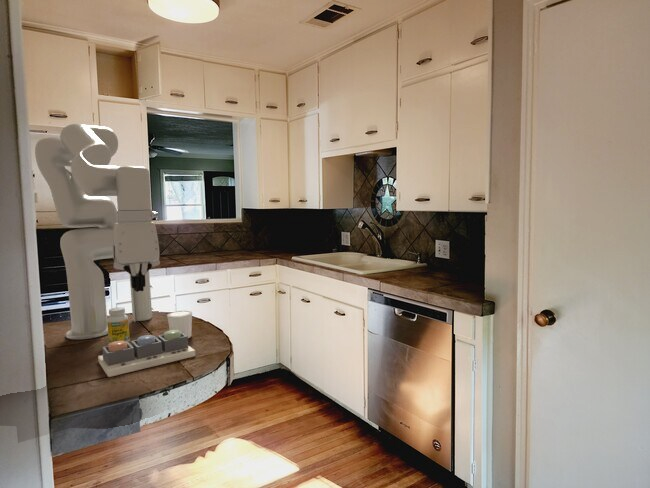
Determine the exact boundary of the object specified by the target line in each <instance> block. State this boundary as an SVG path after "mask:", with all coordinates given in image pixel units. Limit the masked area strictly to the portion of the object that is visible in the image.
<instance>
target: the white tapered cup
mask: <svg viewBox="0 0 650 488" xmlns="http://www.w3.org/2000/svg"><path fill="white" fill-rule="evenodd" d="M166 317H167V323H168V329H169V330H168V331H170V330H180V331H181V332H182V333H184V334H185V335H187V336H188V339H189V338H191V337H192V324H193V322H192V321H193V312H192V311H190V310H179V311H178V310H177V311H172V312H170V313H168V314H166Z"/></svg>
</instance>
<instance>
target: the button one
mask: <svg viewBox="0 0 650 488" xmlns="http://www.w3.org/2000/svg"><path fill="white" fill-rule="evenodd" d="M107 346H108V347H109V352H113V351H118V350H123V349H127V342H126V341H115V342H112V343H109V342H108V344H107Z"/></svg>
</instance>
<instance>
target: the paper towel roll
mask: <svg viewBox="0 0 650 488" xmlns="http://www.w3.org/2000/svg"><path fill="white" fill-rule="evenodd" d="M148 263H149V262H148ZM139 265H140V263H136V264H135V268H136V273H137V274H138V272H139ZM150 280H151V278H150V270H149V271H148V272H147V274H146V275H145V287H143V288H144V291H139V292H136V291H135V290H134V288H132V287H131V274H129V283H130V299H131V312H132V321H133V322H134V323H136V322H142V321H148V320H151V319H152V318H153V308H152V307H153V306H152V293H151V283H150V282H151V281H150Z"/></svg>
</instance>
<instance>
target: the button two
mask: <svg viewBox="0 0 650 488" xmlns="http://www.w3.org/2000/svg"><path fill="white" fill-rule="evenodd" d="M155 337H156V336H155V335H153V334H148V335H141V336H139V337H137V339H136V340H137V342H138V346H142V345H146V344H151V343H155Z"/></svg>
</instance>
